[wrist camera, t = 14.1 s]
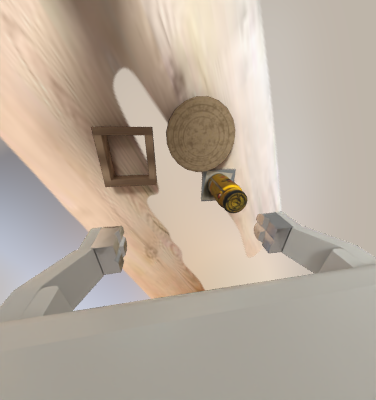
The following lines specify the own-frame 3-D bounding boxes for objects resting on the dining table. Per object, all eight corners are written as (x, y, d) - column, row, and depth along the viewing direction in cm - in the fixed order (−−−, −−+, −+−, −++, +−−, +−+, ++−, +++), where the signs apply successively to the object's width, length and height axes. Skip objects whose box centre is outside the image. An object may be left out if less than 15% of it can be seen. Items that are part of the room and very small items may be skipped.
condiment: (232, 173, 42) (256, 189, 31) (225, 200, 46) (244, 224, 35) (206, 170, 41) (222, 186, 30) (201, 199, 44) (213, 223, 34)
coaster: (202, 169, 41) (203, 170, 41) (234, 168, 42) (235, 169, 42) (201, 200, 45) (201, 201, 44) (230, 198, 46) (231, 199, 46)
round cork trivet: (215, 82, 33) (219, 79, 31) (238, 149, 40) (244, 151, 38) (152, 121, 35) (151, 121, 32) (186, 179, 42) (187, 183, 39)
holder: (97, 126, 33) (90, 126, 30) (152, 127, 35) (151, 127, 32) (110, 182, 39) (105, 187, 36) (156, 180, 40) (156, 184, 37)
